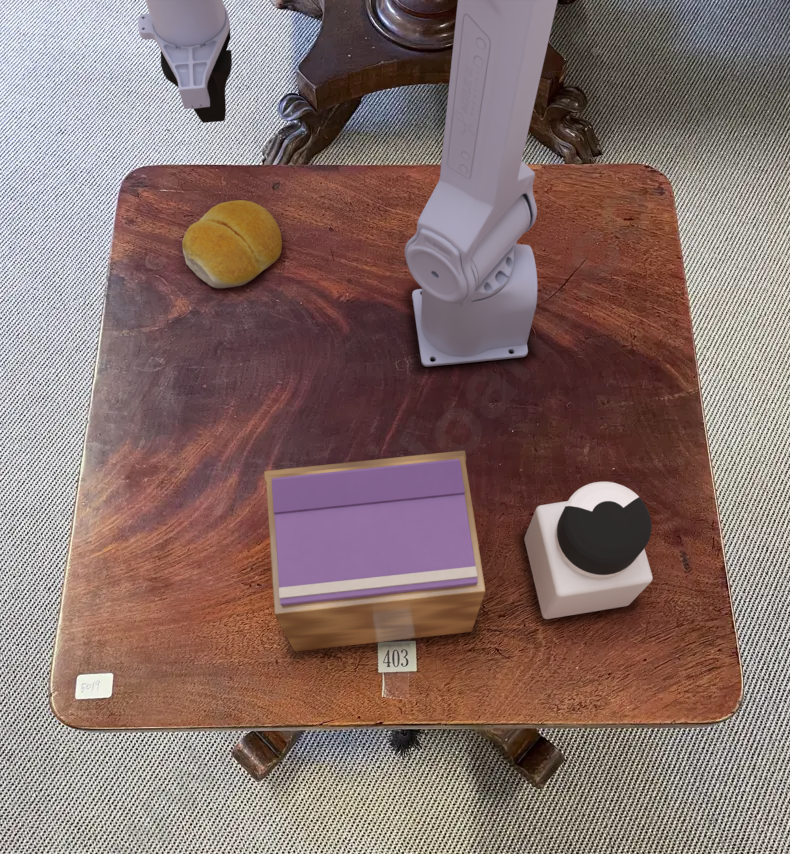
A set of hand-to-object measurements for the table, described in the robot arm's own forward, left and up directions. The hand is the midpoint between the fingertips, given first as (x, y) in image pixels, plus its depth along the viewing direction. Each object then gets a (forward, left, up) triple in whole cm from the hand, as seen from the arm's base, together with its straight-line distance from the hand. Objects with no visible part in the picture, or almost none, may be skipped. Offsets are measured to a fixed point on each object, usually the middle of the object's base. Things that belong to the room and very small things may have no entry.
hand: (213, 112), depth 76 cm
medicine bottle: (-26, +43, -9) cm, 51 cm away
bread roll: (0, +9, -9) cm, 12 cm away
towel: (-10, +42, +3) cm, 43 cm away
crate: (-10, +42, -8) cm, 44 cm away
